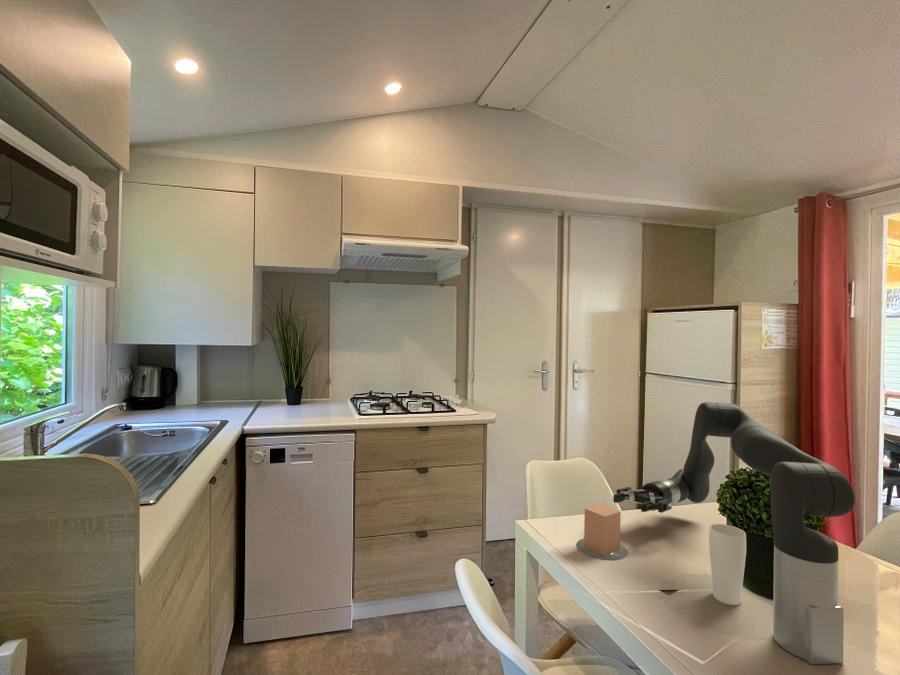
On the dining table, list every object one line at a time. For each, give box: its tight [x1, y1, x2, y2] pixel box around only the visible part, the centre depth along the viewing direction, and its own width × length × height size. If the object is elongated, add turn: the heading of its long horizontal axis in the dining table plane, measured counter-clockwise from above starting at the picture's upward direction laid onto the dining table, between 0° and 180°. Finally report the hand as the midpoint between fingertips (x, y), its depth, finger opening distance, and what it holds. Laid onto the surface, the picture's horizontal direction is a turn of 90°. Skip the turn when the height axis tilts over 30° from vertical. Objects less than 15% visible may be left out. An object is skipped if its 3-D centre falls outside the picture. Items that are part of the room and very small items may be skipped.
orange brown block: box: [583, 503, 622, 556], centre depth 118 cm, size 6×6×10 cm
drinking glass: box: [708, 523, 747, 606], centre depth 96 cm, size 7×7×15 cm
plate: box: [575, 538, 629, 561], centre depth 118 cm, size 13×13×1 cm
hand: (627, 503), depth 124 cm, fingers open, 8 cm apart
